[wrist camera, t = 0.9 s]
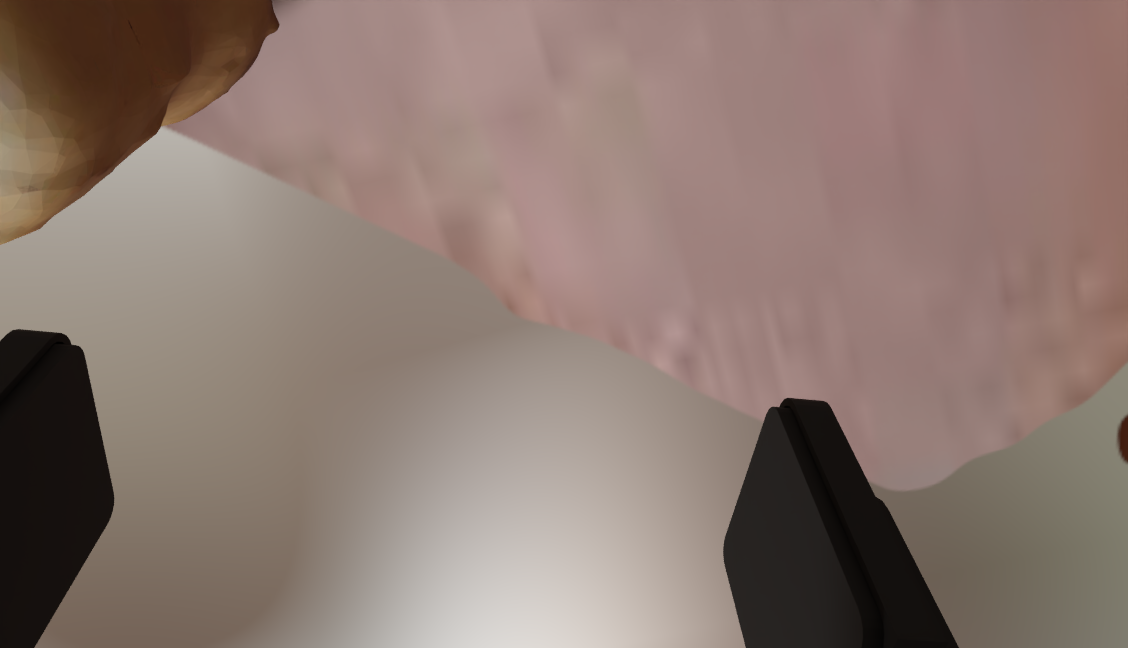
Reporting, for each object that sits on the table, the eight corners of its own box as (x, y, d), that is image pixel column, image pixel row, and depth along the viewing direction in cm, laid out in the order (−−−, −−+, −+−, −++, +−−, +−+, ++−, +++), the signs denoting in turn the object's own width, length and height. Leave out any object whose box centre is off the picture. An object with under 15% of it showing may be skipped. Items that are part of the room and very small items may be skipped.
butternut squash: (48, 66, 46) (-367, 266, 25) (7, -214, 39) (-610, -273, 18) (299, 105, 48) (116, 323, 26) (301, -158, 41) (58, -152, 20)
